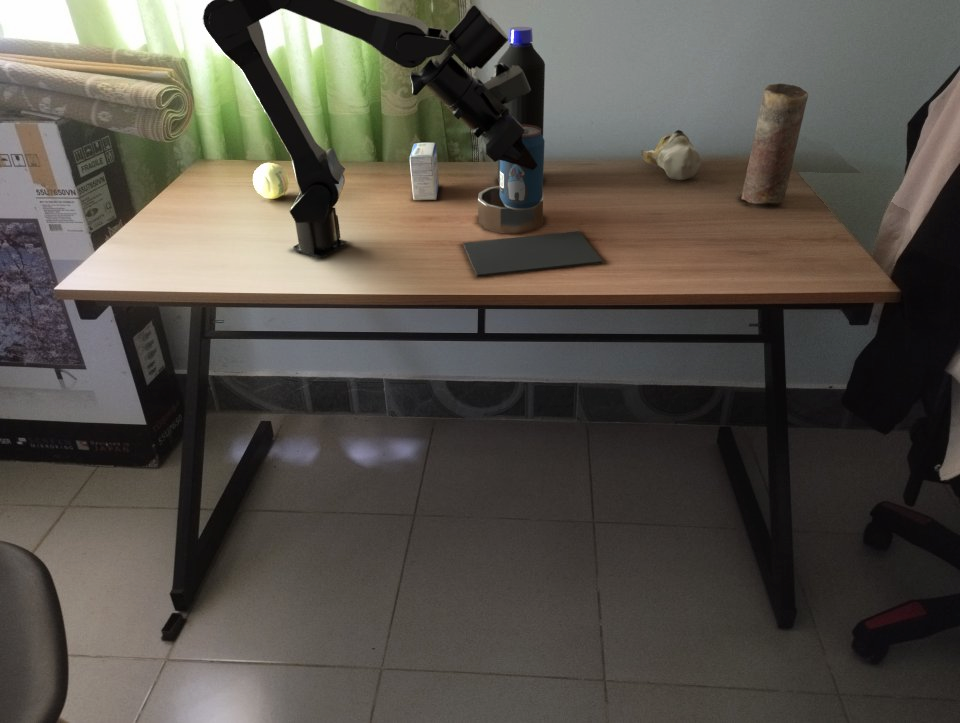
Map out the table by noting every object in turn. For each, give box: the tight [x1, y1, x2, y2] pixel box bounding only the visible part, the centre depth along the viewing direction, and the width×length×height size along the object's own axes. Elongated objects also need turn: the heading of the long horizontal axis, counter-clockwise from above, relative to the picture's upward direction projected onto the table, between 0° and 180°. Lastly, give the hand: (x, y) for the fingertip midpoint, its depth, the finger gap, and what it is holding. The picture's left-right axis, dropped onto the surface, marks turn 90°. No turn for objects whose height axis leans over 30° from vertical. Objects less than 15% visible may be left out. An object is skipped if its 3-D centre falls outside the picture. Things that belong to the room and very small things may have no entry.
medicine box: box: [409, 142, 440, 201], centre depth 140 cm, size 8×4×9 cm, turn 179°
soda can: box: [499, 124, 545, 210], centre depth 117 cm, size 7×7×12 cm
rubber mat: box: [462, 230, 603, 278], centre depth 119 cm, size 20×12×1 cm, turn 101°
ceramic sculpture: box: [640, 129, 703, 181], centre depth 148 cm, size 11×9×15 cm
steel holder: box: [477, 185, 544, 234], centre depth 130 cm, size 11×11×4 cm
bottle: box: [496, 26, 546, 184], centre depth 140 cm, size 9×9×28 cm
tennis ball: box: [252, 162, 290, 199], centre depth 141 cm, size 6×7×7 cm
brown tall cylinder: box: [740, 83, 809, 206], centre depth 130 cm, size 8×7×20 cm
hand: (530, 160), depth 117 cm, fingers closed on soda can, 7 cm apart
